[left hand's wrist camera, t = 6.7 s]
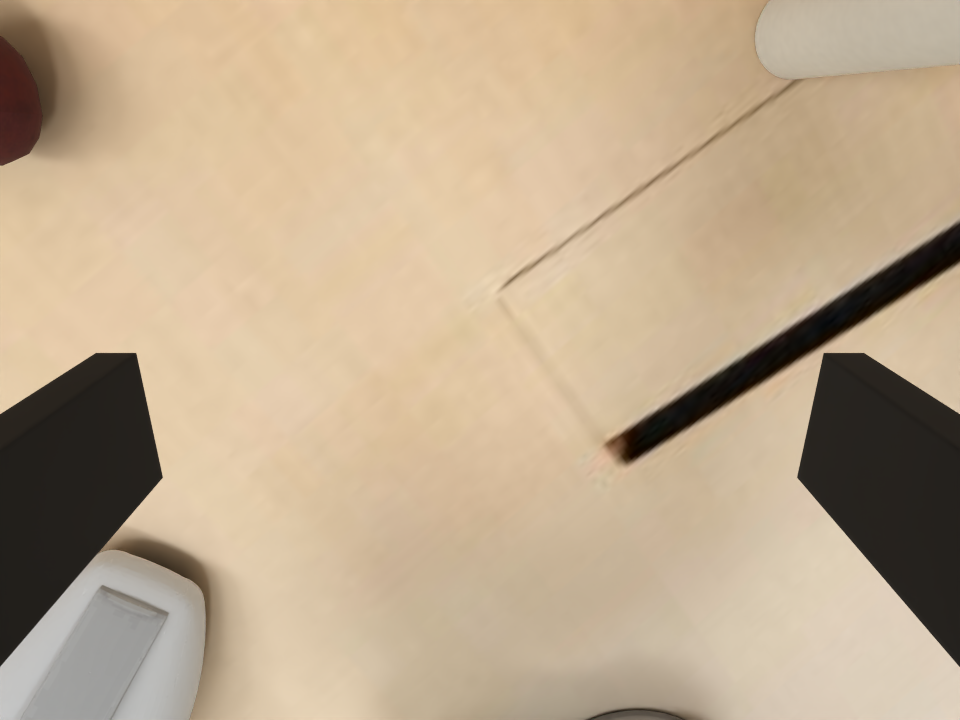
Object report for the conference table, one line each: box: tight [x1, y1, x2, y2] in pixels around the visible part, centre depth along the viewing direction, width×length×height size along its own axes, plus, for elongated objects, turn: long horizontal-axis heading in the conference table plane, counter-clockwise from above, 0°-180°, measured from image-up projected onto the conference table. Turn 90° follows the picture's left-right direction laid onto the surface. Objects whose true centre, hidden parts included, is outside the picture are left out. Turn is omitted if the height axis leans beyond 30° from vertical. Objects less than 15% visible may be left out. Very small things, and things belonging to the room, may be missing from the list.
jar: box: [755, 0, 960, 80], centre depth 26 cm, size 5×5×18 cm
